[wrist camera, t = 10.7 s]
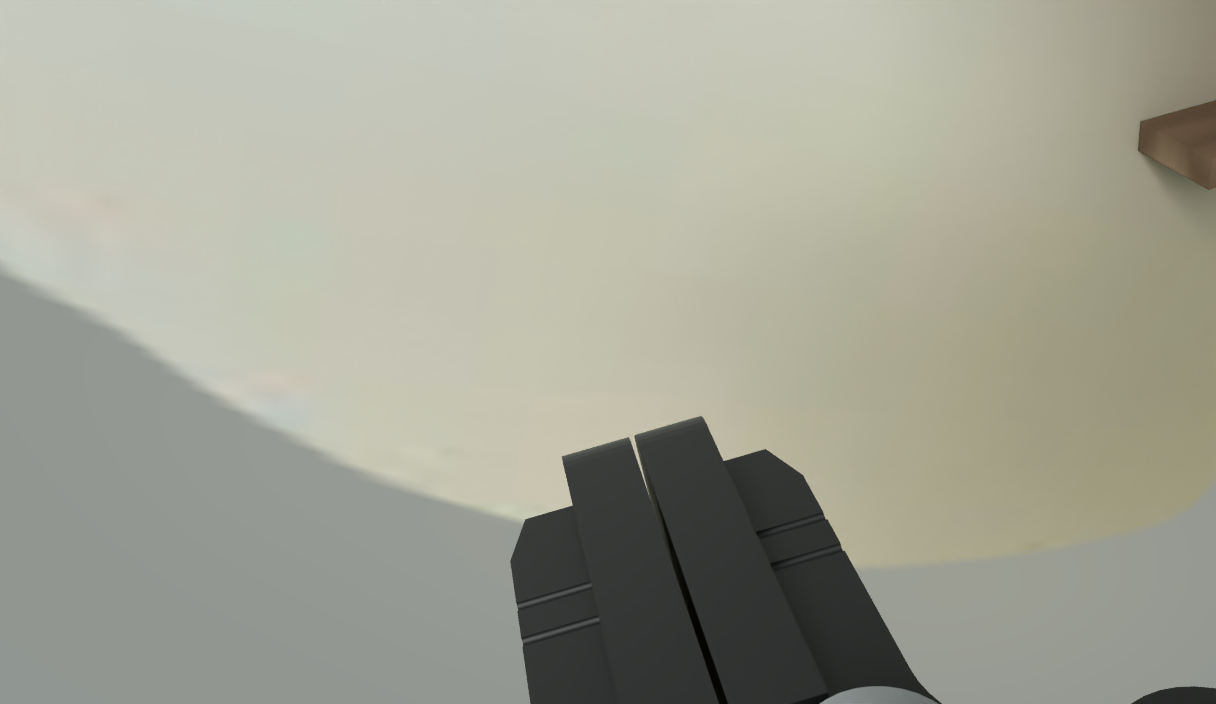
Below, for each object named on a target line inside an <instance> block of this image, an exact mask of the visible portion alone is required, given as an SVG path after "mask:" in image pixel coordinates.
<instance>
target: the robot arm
mask: <svg viewBox="0 0 1216 704" xmlns="http://www.w3.org/2000/svg"><path fill="white" fill-rule="evenodd" d="M635 441H636V446H637V450H638V454H639V458H640V462H641V466H642V469H643V473H644V477H645V481H646V485H647V489H648V492H647V489H646V486H645V483H644V480H643V477H642V474H641V471H640V468H639V465H638V462H637V459H636V456H635V453H634V450H633V447H632V444H631V441H630V439H629V437H628V438H624V439H621V440H617V441H614V442H611V443H607V444H604V445H600V446H597V447H593V448H590V449H586V450H583V451H579V452H576V453H572V454H569V455H566V456H562V460H563V465H564V469H565V473H566V478H567V482H568V486H569V491H570V495H571V499H572V503H573V506H570V507H566V508H563V509H559V510H556V511H553V512H549V513H546V514H542V515H539V516H535V517H532V518H529V519H525V522H524V525H523V527H522V530H521V533H520V536H519V539H518V541H517V544H516V547H515V550H514V553H513V555H512V558H511V561H510V562H511V568H512V575H513V583H514V590H515V596H516V603H517V606H518V618H519V625H520V632H521V638H522V641H523V653H524V660H525V668H526V675H527V682H528V689H529V695H530V703H531V704H941V703H940V702H939V701H938V700H937V699H935V698H934V697H933V696H932V695H931V694H929V693H928V692H927V690H926V689H925V688H924V687H923V686H922V685H921V684H920V683H919V682H918V680H917V679H916V677H915V676H914V674H913V673H912V671H911V670H910V668H909V666H908V664H907V662H906V661H905V659H904V657H903V655H902V654H901V652H900V650H899V648H898V646H897V644H896V643H895V641H894V639H893V637H892V635H891V634H890V632H889V630H888V628H887V626H886V625H885V623H884V621H883V619H882V617H881V616H880V614H879V612H878V610H877V608H876V607H875V605H874V603H873V601H872V599H871V598H870V596H869V594H868V592H867V590H866V588H865V587H864V585H863V583H862V581H861V579H860V578H859V576H858V574H857V572H856V570H855V569H854V567H853V565H852V563H851V561H850V560H849V558H848V556H847V554H846V552H845V551H843V550H842V548H841V544H840V541H839V540H838V538H837V536H836V534H835V532H834V531H833V529H832V527H831V525H830V523H829V522H828V520H826V519H825V517H824V514H823V511H822V509H821V507H820V505H819V504H818V502H817V500H816V498H815V496H814V495H813V493H812V491H811V489H810V487H809V486H808V484H807V482H806V480H805V478H804V476H803V475H802V474H800V473H799V472H798V471H796V470H795V469H793V468H792V467H790V466H789V465H788V464H786V463H785V462H783V461H782V460H780V459H779V458H778V457H776V456H775V455H773V454H772V453H770V452H769V451H767V450H766V449H764V450H761V451H757V452H754V453H751V454H747V455H744V456H740V457H737V458H733V459H730V460H727V461H723V459H722V457H721V455H720V453H719V451H718V448H717V446H716V444H715V442H714V440H713V437H712V435H711V433H710V431H709V429H708V426H707V424H706V422H705V420H704V419H703V417H702V416H699V417H696V418H692V419H689V420H686V421H682V422H679V423H675V424H672V425H668V426H665V427H661V428H658V429H654V430H651V431H647V432H644V433H641V434H637V435H635ZM648 493H649V495H648ZM649 497H650V498H649ZM650 500H651V501H650ZM1132 704H1216V689H1215V688H1205V687H1176V688H1170V689H1164V690H1160V691H1157V692H1154V693H1151V694H1149V695H1146V696H1143V697H1142V698H1140V699H1138V700H1137V701H1135V702H1133V703H1132Z"/></svg>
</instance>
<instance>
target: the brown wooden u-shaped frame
mask: <svg viewBox="0 0 1216 704" xmlns="http://www.w3.org/2000/svg"><path fill="white" fill-rule="evenodd" d="M1138 151H1140V152H1142V153H1144V154H1145V155H1147V156H1149V157H1151V158H1153V159H1154V160H1156V161H1158V162H1160V163H1161V164H1163V165H1165V166H1167V167H1169V168H1170V169H1172V170H1174V171H1176V172H1178V173H1179V174H1181V175H1183V176H1185V177H1187V178H1188V179H1190V180H1192V181H1194V182H1196V183H1197V184H1199V185H1201V186H1203V187H1205V188H1206V189H1208V190H1209V189H1213V188H1216V101H1212V102H1208V103H1205V104H1201V105H1198V106H1194V107H1191V108H1187V109H1184V110H1180V111H1176V112H1173V113H1169V114H1166V115H1162V116H1159V117H1155V118H1152V119H1148V120H1145V121H1141V124H1140V137H1139V149H1138Z"/></svg>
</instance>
